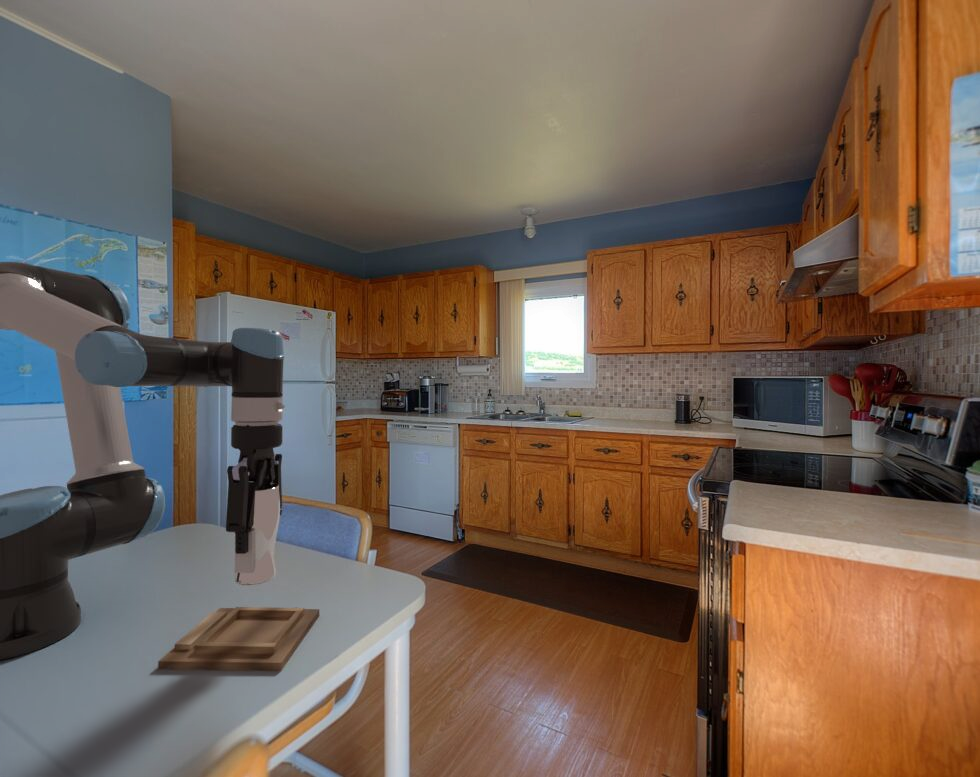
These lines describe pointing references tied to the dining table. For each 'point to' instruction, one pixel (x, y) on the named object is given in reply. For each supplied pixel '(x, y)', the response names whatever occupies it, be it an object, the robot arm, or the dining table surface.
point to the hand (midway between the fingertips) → (256, 562)
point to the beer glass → (263, 536)
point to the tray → (242, 639)
